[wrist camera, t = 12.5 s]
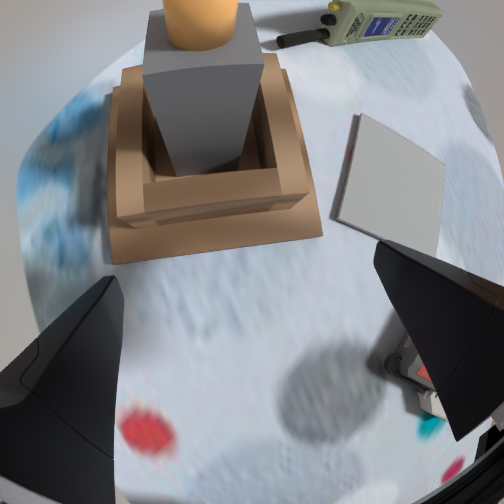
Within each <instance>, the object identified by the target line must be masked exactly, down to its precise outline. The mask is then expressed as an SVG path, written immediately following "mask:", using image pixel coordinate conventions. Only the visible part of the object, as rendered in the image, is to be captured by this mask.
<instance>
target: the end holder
mask: <svg viewBox="0 0 504 504" xmlns="http://www.w3.org/2000/svg"><path fill="white" fill-rule="evenodd" d="M262 55H263V59H264V63H265V65H264V69H263V72H262V76H261V80H260V83H259V87H258V91H257V95H256V98H255V102H254V106H253V110H252V114H251V118H250V122H249V126H248V130H247V134H246V138H245V142H244V146H243V150H242V154H241V158H240V162H239V167H238V170H234V171H224V172H215V173H207V174H198V175H191V176H183V177H177V176H176V173H175V170H174V167H173V165H172V162H171V159H170V156H169V154H168V151H167V148H166V145H165V143H164V140H163V137H162V134H161V131H160V128H159V125H158V123H157V120H156V117H155V114H154V111H153V108H152V105H151V102H150V99H149V96H148V93H147V90H146V87H145V84H144V80H143V77H142V69H143V65H138V66H133V67H129V68H125V69H122V77H121V85H120V86H116V87H113V93H112V102H111V112H110V124H109V139H108V172H107V185H108V218H109V235H110V247H111V258H112V264H115V265H118V264H125V263H133V262H140V261H147V260H154V259H161V258H168V257H176V256H183V255H190V254H197V253H205V252H212V251H219V250H227V249H234V248H242V247H249V246H257V245H264V244H272V243H279V242H287V241H294V240H302V239H309V238H317V237H320V236H323V232H322V226H321V220H320V215H319V209H318V204H317V198H316V193H315V188H314V183H313V178H312V173H311V168H310V164H309V159H308V154H307V150H306V146H305V141H304V137H303V133H302V129H301V124H300V120H299V116H298V112H297V109H296V105H295V101H294V97H293V93H292V90H291V86H290V82H289V79H288V75H287V72H286V69H281V68H280V65H279V61H278V58H277V54H276V53H262Z"/></svg>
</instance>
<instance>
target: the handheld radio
mask: <svg viewBox="0 0 504 504" xmlns="http://www.w3.org/2000/svg"><path fill="white" fill-rule="evenodd" d="M328 8H329V10H328V12H327V14H326V15H322V16H321V19H320V20H321V22H322V26H321V28H320V29H317V30H313V31H312V30H309V31H303V32H297V33H291V34H286V35H281V36H278V37H277V39H276V41H277V44H278V46H279V47H280V48H285V47H289V46H294V45H298V44H303V43H308V42H313V41H316V40H323V41H324V42H325V43H326V44H327V45H328V46H339V45H345V44H352V43H359V42H367V41H376V40H387V39H401V38H423V37H424V36H425V35H426V34H427V33H428V31H429V30H430V29H431V28H432V26H433V25H434V24H435V23H436V22H437V21H438V20H439V18H440V17H441V16H442V15H443V10H441V9H440V8H439V7H438V6H437V5H435V4H434V3H432V2H428V1H424V0H333V1H332V2H330V3H329V4H328Z"/></svg>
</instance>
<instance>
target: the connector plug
mask: <svg viewBox="0 0 504 504" xmlns="http://www.w3.org/2000/svg"><path fill="white" fill-rule="evenodd" d="M238 1H239V0H163V6H164V9H161V10H155V11H150V14H149V21H148V27H147V34H146V42H145V50H144V59H143V69H142V77H143V80H144V84H145V87H146V90H147V93H148V96H149V99H150V102H151V105H152V108H153V111H154V114H155V117H156V120H157V123H158V125H159V128H160V131H161V134H162V137H163V140H164V143H165V145H166V148H167V151H168V154H169V156H170V159H171V162H172V165H173V167H174V170H175V173H176V176H177V177H183V176H191V175H198V174H207V173H215V172H224V171H234V170H238V167H239V162H240V158H241V154H242V150H243V146H244V142H245V138H246V134H247V130H248V126H249V122H250V118H251V114H252V110H253V106H254V102H255V98H256V95H257V91H258V87H259V83H260V80H261V76H262V72H263V69H264V65H265V63H264V59H263V55H262V51H261V47H260V43H259V39H258V35H257V32H256V28H255V24H254V20H253V17H252V13H251V10H250V6H249V3H238Z"/></svg>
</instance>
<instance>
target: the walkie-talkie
mask: <svg viewBox="0 0 504 504" xmlns="http://www.w3.org/2000/svg"><path fill="white" fill-rule="evenodd" d="M384 368H385V369H386V370H387V372H388V373H390V374H392V375H394V376H396V377H398V378H400V379H402V380H404V381H406V382H408V383H410V384H412V385H413V386H415V387H416V389H417V391H418V392H417V394H418V395H419V402H420V407H421V409H423V410H425V411H427V412H428V413H430V414H432V415H435V416H437V417H438V418H440V419H442V420H444V421H446V422H448V419H447V417H446V414H445V412H444V409H443V407H442V405H441V402H440V400H439V398H438V395H437V393H436V390H435V388H434V386H433V384H432V381H431V379H430V377H429V375H428V373H427V371H426V369H425V366H424V364H423V362H422V360H421V358H420V356H419V354H418V352H417V350H416V348H415V346H414V344H413V342H412V340H411V338H410V336H409V334H408V333H407V331H406V332H405V334H404V336H403V338H402V340H401V342H400V344H399V346H398V348H397V350H396V351H395V353H392V354H390V355H389V356H388V357H387V358H386V360H385V362H384ZM420 384H421V385H420Z"/></svg>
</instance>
